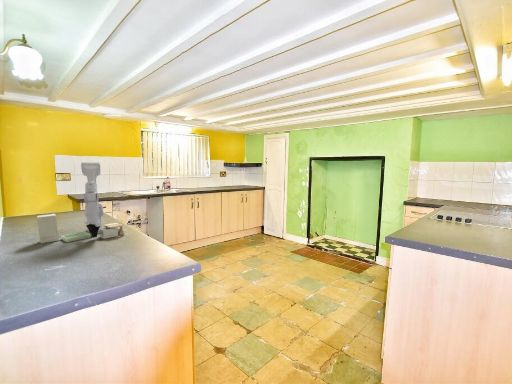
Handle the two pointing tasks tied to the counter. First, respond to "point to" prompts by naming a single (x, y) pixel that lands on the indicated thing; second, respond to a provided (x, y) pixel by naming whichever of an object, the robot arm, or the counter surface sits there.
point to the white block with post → (107, 232)
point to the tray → (76, 236)
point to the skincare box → (47, 228)
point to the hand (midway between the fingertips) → (94, 236)
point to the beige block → (114, 225)
